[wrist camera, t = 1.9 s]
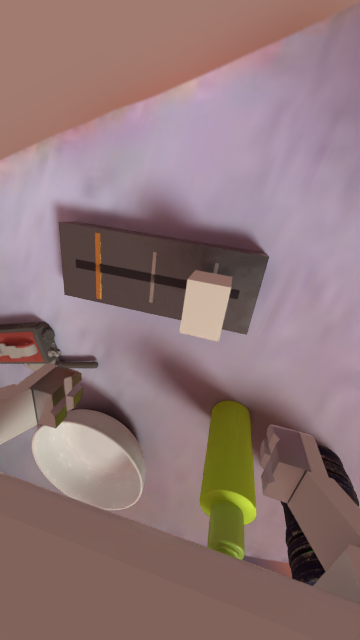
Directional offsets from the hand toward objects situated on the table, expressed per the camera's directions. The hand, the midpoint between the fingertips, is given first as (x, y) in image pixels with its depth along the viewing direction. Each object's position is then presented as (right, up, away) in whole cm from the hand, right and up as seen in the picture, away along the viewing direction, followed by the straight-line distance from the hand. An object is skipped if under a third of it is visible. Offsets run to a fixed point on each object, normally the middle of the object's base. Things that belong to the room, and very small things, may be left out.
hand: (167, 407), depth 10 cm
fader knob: (+4, +7, +16) cm, 18 cm away
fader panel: (-2, +10, +20) cm, 22 cm away
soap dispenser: (+8, -11, +27) cm, 30 cm away
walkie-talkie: (-23, 0, +30) cm, 38 cm away
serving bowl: (-14, -19, +36) cm, 43 cm away
